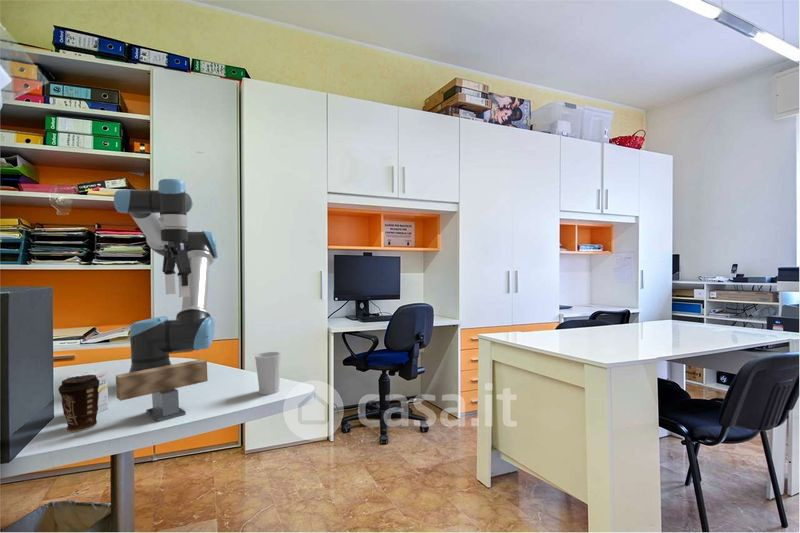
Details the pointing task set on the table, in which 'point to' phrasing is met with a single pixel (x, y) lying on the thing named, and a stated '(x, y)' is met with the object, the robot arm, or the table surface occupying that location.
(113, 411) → the table surface
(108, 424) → the table surface
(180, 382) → the walnut beam
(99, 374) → the ink box
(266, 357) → the cup
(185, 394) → the table surface
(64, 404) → the coffee cup
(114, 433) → the table surface
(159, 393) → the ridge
